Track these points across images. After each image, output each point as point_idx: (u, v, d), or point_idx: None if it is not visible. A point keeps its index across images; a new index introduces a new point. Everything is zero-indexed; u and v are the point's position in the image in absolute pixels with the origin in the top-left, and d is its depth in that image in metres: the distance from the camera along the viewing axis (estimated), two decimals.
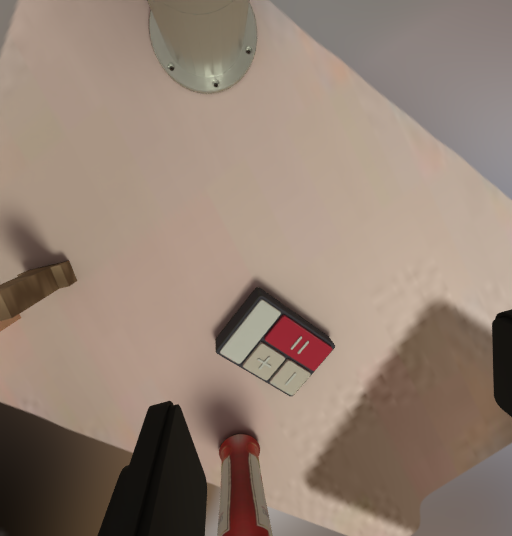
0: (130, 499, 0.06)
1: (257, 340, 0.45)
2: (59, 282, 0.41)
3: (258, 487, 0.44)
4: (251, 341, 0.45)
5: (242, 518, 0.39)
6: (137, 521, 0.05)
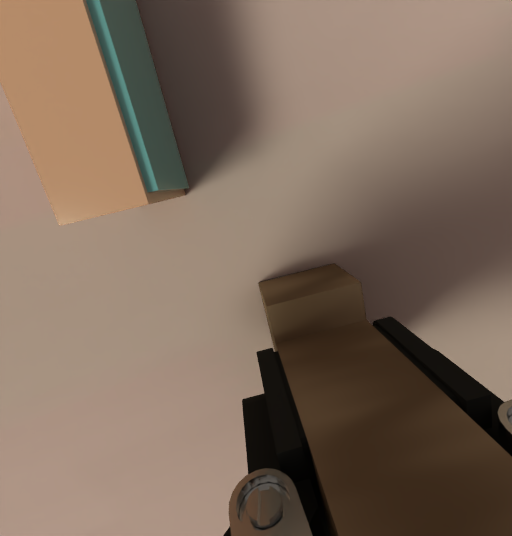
0: (279, 407, 0.07)
1: None
2: None
3: None
4: None
5: None
6: (293, 419, 0.07)
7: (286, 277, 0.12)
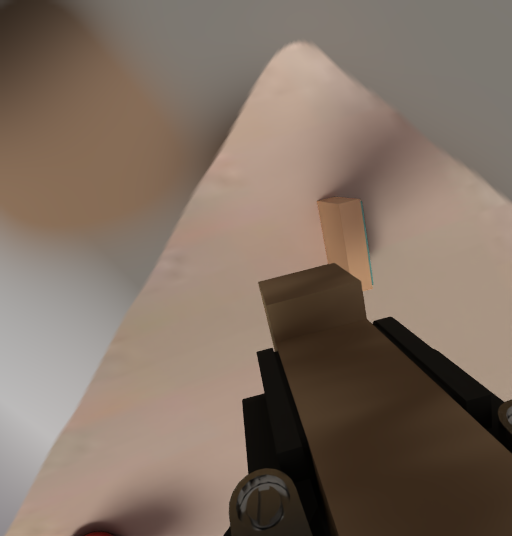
0: (279, 407, 0.07)
1: None
2: None
3: None
4: None
5: None
6: (293, 419, 0.07)
7: (286, 276, 0.12)
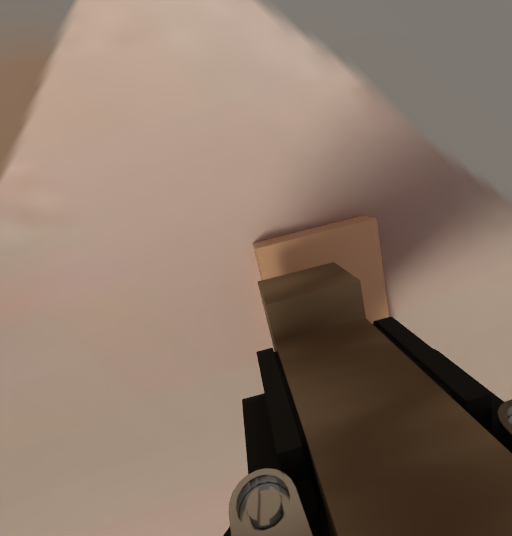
0: (279, 407, 0.07)
1: None
2: None
3: None
4: None
5: None
6: (293, 419, 0.07)
7: (285, 275, 0.12)
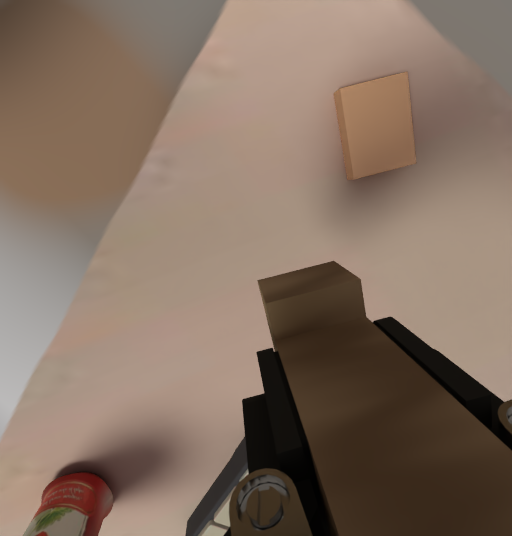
0: (279, 407, 0.07)
1: None
2: None
3: None
4: None
5: None
6: (294, 419, 0.07)
7: (285, 274, 0.12)
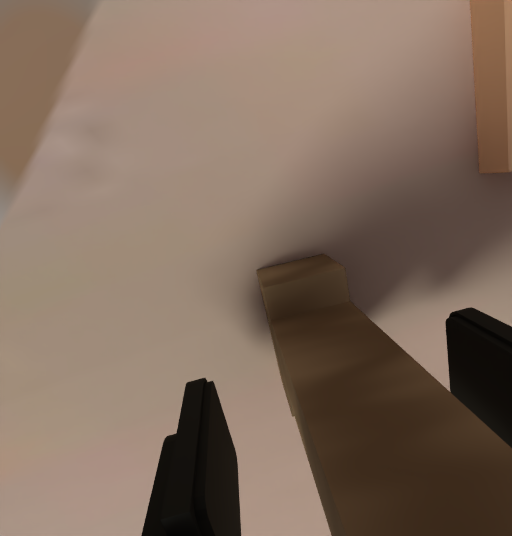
0: (184, 456, 0.06)
1: None
2: None
3: None
4: None
5: None
6: (193, 472, 0.06)
7: (281, 264, 0.13)
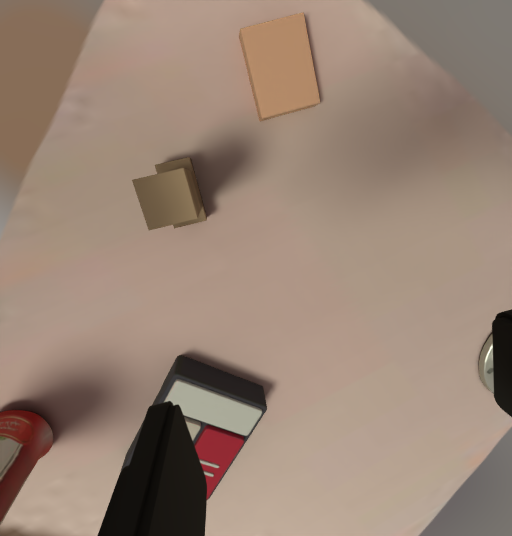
0: (130, 499, 0.06)
1: (203, 420, 0.33)
2: None
3: None
4: (201, 413, 0.33)
5: None
6: (136, 520, 0.05)
7: None
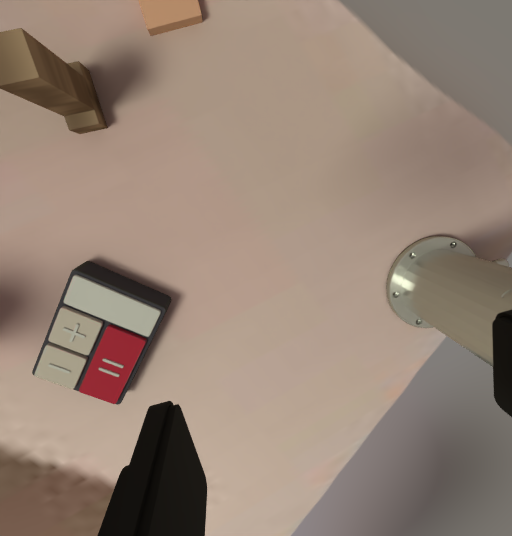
0: (130, 499, 0.06)
1: (104, 317, 0.35)
2: (73, 118, 0.31)
3: None
4: (101, 311, 0.35)
5: None
6: (137, 521, 0.05)
7: None
